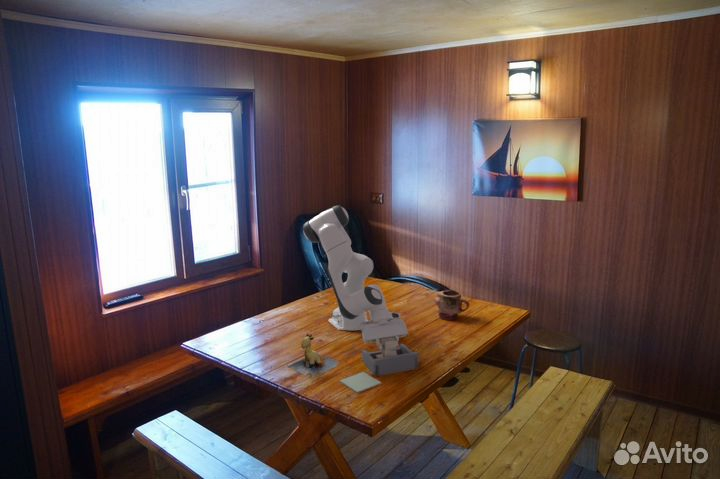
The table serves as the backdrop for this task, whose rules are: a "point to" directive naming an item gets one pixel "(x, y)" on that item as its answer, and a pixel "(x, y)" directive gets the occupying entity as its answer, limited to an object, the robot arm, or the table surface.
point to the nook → (390, 361)
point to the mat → (360, 382)
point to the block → (389, 347)
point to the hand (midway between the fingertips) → (389, 348)
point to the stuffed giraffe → (312, 360)
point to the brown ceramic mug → (450, 304)
